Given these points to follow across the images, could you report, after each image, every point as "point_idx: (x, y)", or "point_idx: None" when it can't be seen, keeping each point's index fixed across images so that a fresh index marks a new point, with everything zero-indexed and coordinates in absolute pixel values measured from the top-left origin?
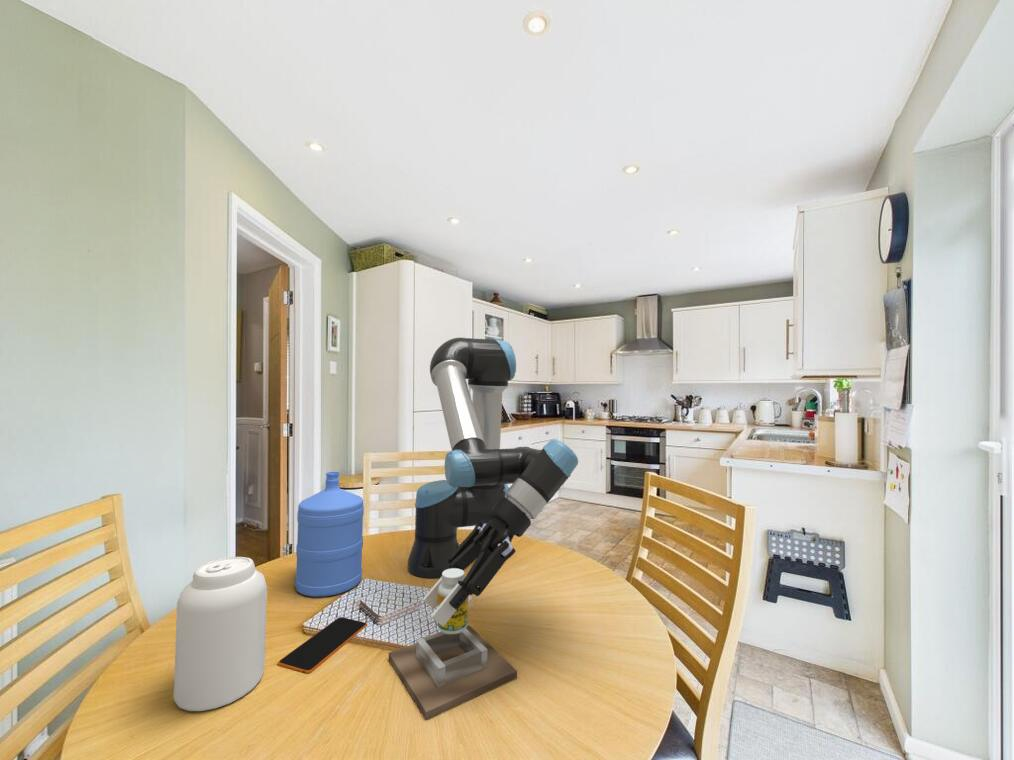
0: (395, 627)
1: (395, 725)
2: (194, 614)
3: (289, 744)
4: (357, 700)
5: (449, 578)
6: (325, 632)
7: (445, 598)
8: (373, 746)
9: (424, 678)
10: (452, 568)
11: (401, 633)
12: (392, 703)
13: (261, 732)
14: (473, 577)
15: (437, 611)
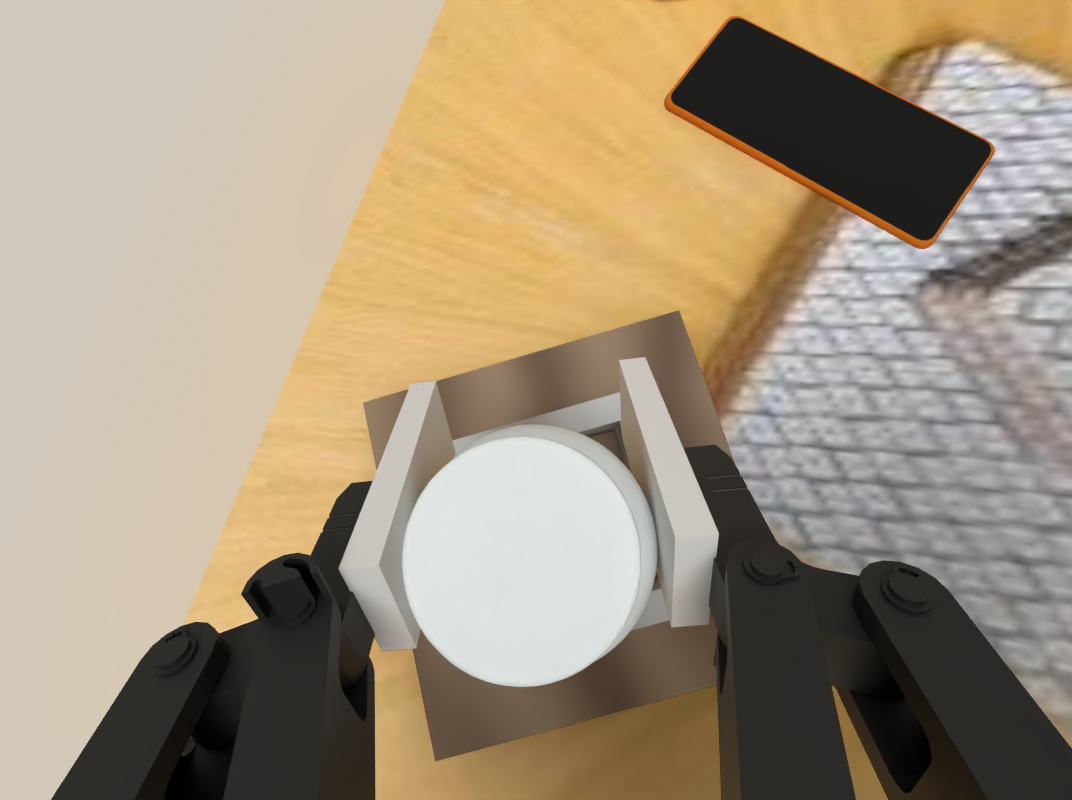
0: (882, 350)
1: (385, 329)
2: None
3: (417, 110)
4: (509, 236)
5: (422, 492)
6: (882, 112)
7: (405, 455)
8: (341, 278)
9: (505, 415)
10: (635, 573)
11: (832, 370)
12: (466, 324)
13: (474, 50)
14: (157, 737)
15: (403, 407)
